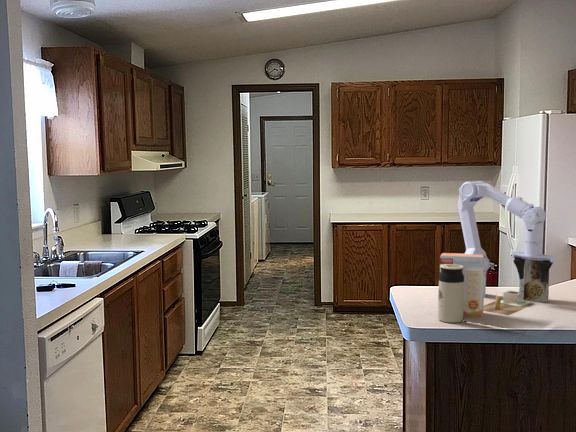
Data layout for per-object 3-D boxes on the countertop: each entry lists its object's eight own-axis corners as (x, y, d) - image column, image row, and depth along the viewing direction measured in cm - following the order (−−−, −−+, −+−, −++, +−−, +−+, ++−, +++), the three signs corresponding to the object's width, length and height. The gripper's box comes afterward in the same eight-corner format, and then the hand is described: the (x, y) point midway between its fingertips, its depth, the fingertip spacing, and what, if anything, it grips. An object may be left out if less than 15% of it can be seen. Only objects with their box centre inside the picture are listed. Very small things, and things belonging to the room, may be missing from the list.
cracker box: (483, 315, 208) (485, 254, 206) (482, 319, 203) (483, 256, 201) (441, 311, 213) (442, 251, 211) (438, 316, 208) (439, 254, 206)
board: (474, 312, 213) (475, 296, 212) (502, 300, 229) (503, 286, 229) (508, 318, 205) (509, 301, 204) (535, 306, 221) (535, 291, 220)
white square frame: (503, 302, 221) (503, 292, 221) (509, 299, 225) (509, 290, 225) (517, 304, 218) (517, 294, 217) (523, 302, 221) (523, 292, 221)
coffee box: (543, 298, 233) (544, 256, 231) (548, 302, 226) (550, 259, 225) (518, 298, 233) (519, 256, 232) (522, 302, 227) (524, 258, 226)
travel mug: (462, 317, 205) (463, 264, 203) (463, 324, 197) (465, 268, 196) (437, 316, 207) (438, 263, 205) (438, 322, 199) (439, 267, 197)
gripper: (508, 241, 218) (507, 279, 219) (550, 245, 208) (548, 284, 210) (516, 239, 223) (515, 276, 225) (558, 242, 213) (556, 281, 215)
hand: (532, 280), depth 217 cm, fingers open, 7 cm apart
